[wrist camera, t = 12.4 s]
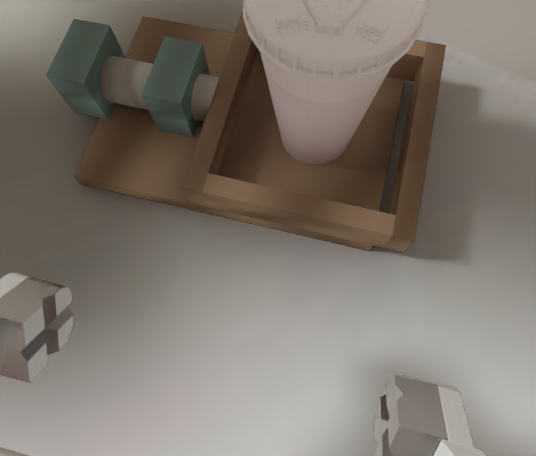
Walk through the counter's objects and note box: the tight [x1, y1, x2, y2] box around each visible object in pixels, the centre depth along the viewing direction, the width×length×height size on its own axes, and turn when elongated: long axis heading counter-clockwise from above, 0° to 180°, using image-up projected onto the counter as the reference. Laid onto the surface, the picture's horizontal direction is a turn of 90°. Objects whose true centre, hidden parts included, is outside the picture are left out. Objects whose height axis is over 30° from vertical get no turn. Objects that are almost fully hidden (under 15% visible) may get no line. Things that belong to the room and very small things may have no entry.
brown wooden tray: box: [46, 11, 446, 252], centre depth 23 cm, size 20×11×4 cm, turn 76°
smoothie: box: [243, 0, 429, 165], centre depth 17 cm, size 6×6×14 cm
